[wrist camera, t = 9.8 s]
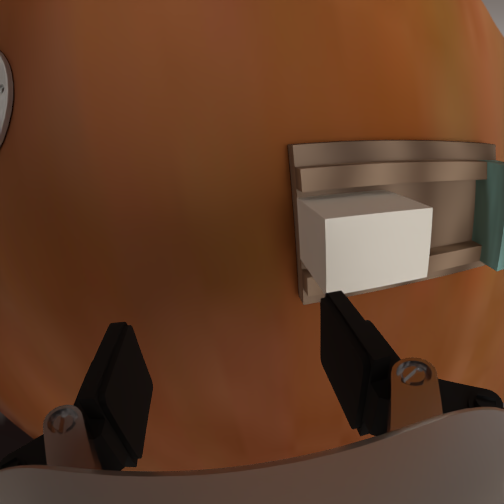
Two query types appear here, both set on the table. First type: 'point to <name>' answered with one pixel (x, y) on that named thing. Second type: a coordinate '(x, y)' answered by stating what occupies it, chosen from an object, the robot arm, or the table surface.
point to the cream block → (363, 239)
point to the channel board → (412, 195)
